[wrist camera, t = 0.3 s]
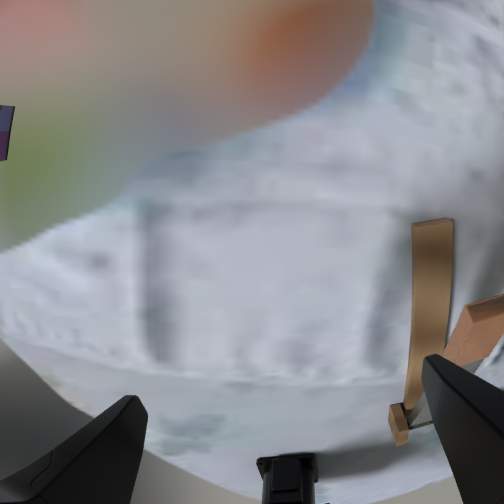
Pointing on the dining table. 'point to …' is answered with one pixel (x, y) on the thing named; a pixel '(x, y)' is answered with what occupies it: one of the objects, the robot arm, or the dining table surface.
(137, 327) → the dining table surface
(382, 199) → the dining table surface
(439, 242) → the walnut tong base
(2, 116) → the cereal box
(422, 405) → the metal tong arm
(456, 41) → the dining table surface
